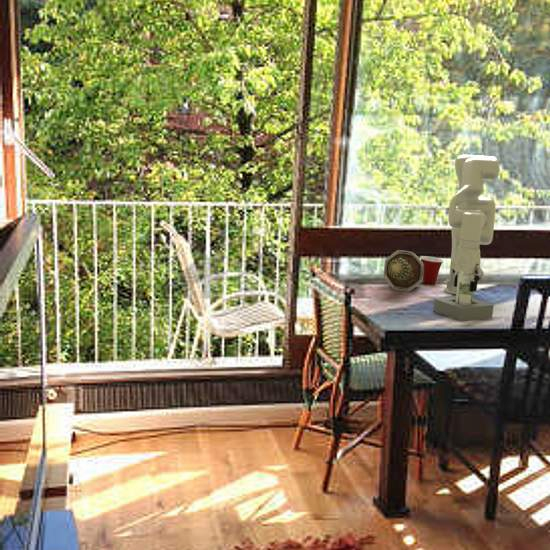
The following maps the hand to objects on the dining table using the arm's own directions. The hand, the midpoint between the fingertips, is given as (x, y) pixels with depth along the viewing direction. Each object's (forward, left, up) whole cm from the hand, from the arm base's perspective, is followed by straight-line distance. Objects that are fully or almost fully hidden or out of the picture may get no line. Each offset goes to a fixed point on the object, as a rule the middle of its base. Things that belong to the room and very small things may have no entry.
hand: (465, 288), depth 299 cm
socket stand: (0, 0, -10) cm, 10 cm away
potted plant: (-41, +3, -11) cm, 42 cm away
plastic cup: (-48, +26, -11) cm, 56 cm away
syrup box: (0, 0, -7) cm, 7 cm away
